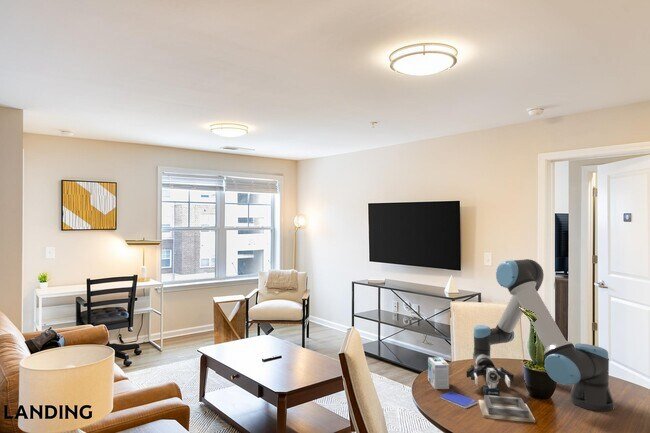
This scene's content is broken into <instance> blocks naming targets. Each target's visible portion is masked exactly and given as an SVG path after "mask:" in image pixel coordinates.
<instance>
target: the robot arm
mask: <svg viewBox="0 0 650 433" xmlns="http://www.w3.org/2000/svg"><path fill="white" fill-rule="evenodd" d="M544 274H545V273H544V270H543V267H542V266H541V265H540V264H539V262H537V261H536V260H533V259H529V258H528V259H515V260H513V259H509V260H504V261H502V262H501V263H499V264H498V266H497V268H496V272H495V279H496V281H497V283H498V284H499V286H500V287H502V288H505V289H507V291H508V292H509V294H510V295H511V298H510V299H509V301H508V303H507V305H506V307H505V309H504V311H503V313H502V315H501V317H500V318H499V321H498V322H497V324H496V327H493V328H491V327H490V326H488V325H486V324H485V325H483V324H482V325H481V324H479V325H478V324H477V325H475V326H474V328H473V353H472V358H473V361H474V363H475V365H476V366H474V365H472V364H471V366H470V367H469V368H468V369H467V370H466V373H465V374H466V378H470V380H471V381H474V383H475V385H476V386H477V385H478V383H479V382H478V381H479V380H478V379H479V378H478V377H479V376H485V377H486V370H487V368H494V370H496V372H497V373H498V375H499V376H500V378H499V379H502V380H504V382H505V384H506V386H507V387H508V388H511V383H512V382H514V380H515V375H514V373H511V372H510V371H508V370H506V369H504V367H500V368H497V367H495V364H494V362H493V360H492V358H491V346H492V345H498V344H499V345H500V344H505V343H510V342H512V341H514V338H515V331H514V330H515V329H516V326H517V325H518V323H519V321H520V319H521V317H522V315H523V314H524V313H525V312H526V311H525V312H522V311H521V310H520V308H519V306H521V307H522V308H523V309H524V308H525V309H524V310H526V309H528V310H530V311H532V312H534V315H535V314H536V315H535V316H536V318H537V320H536V321H535V322H533V320H532V321H531V322H530V320H531V319H529V317H528V316H527V315H526V317H527V319H528V321H529V322H530V324H531V326H532V325H533V326H534V328H533V329H535V330H534V331H535V333H536V335H537V336H538V338H539V341H540V342H541V344H542V345H543V348H544V351H543V355H544V357H545V359H544V369H545V371H546V373H547V375H548V377H549V378H550V379H551V380H553V381H554V382H555V383H557V384H560V385H563V386H564V385H565V386H567V385H572V388H571V389H570V392H569V401H570V402H571V403H572V404H574V405H576V406H578V407H580V408H583V409H586V410H590V411H595V412H596V411H597V412H609V410H610V411H613V410H614V409H615V401H614V399H613V395H612V393H611V390H610V389H611V388H610V386H609V385H610V384H609V382H610V381H609V378H610V377H609V373H610V372H609V371H610V368H609V367H610V365H609V362H610V358H609V352H608V350H607V349H605V348H603V347H601V346H598V345H593V344H587V343H575V344H574V343H573V342H571V341H567V340H566V337H565V336H564V335H563V333H562V331H561V330H560V327H559V326H558V325H557V323H556V321H555V319H554V318H553V316H552V314H551V312H550V311H549V309H548V307H547V306H546V304H545V303H544V301H543V299H542V297H541V296H540V294H539V292H538V291H539V290H540V288H541V286H542V284H543V281H544ZM533 326H532V327H533ZM613 408H614V409H613ZM612 409H613V410H612Z"/></svg>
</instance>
